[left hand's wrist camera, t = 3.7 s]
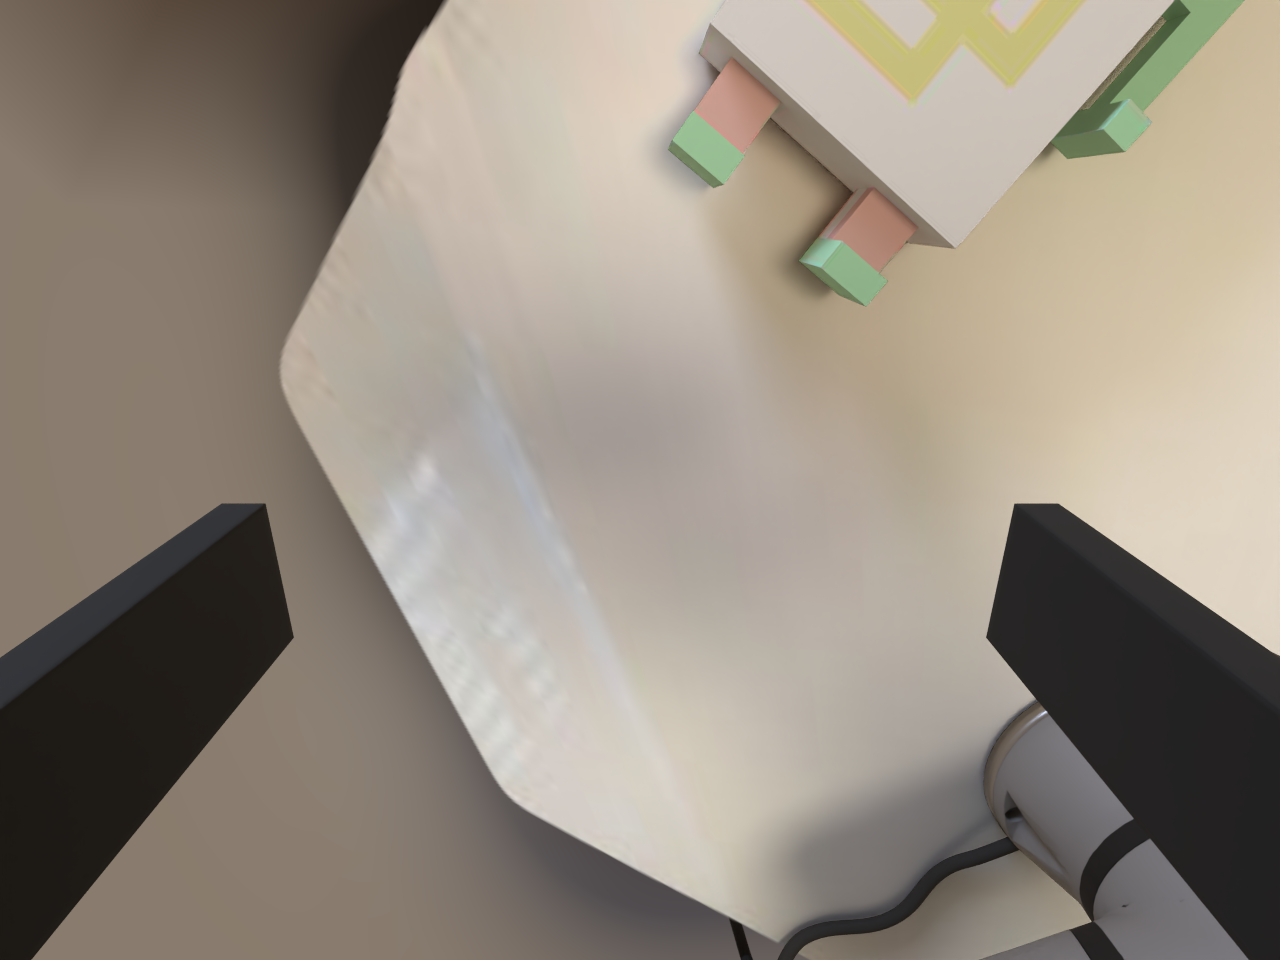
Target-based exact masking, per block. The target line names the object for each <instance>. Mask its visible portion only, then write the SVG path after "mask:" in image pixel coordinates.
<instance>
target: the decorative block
mask: <svg viewBox="0 0 1280 960" xmlns="http://www.w3.org/2000/svg"><path fill="white" fill-rule="evenodd" d="M1243 2H1244V0H726V1H725V2H724V4H723V5H722V6H721V8H720V9H719V11H718V12H717V14H716V15H715V17H714V18H713V20H712V21H711V23H710V25H709V28H708V30H707V33H706V36H705V38H704V41H703V44H702V46H701V49H700V52H699V54H700V55H701V56H703V57H704V58H705V59H706V60H707V61H708V62H709V63H710V64H711V65H713V66H714V67H715V68H716V69H717V70H718V71H719V72H720V74H719V76H718V77H717V79H716V80H715V82H714V83H713V84H712V86H711V87H710V89H709V90H708V92H707V93H706V94H705V96H704V97H703V99H702V100H701V101H700V103H699V104H698V106H697V107H696V109H695V110H693V111H692V113H691V114H690V116H689V117H688V119H687V120H686V121H685V123H684V124H683V126H682V127H681V128H680V130H679V131H678V133H677V134H676V136H675V137H674V138H673V140H672V142H671V144H670V146H669V149H668V150H669V151H670V152H672V153H673V154H674V155H675V156H676V157H678V158H679V159H680V160H681V161H682V162H683V163H685V164H686V165H687V166H688V167H689V168H690V169H692V170H693V171H694V172H695V173H696V174H697V175H699V176H700V177H701V178H702V179H703V180H704V181H706V182H707V183H708V184H709V185H710V186H712V187H713V188H714V187H717V186H720V185H723V184H724V183H725V182H726V181H727V179H728V178H729V177H730V175H731V174H732V173H733V171H734V170H735V169H736V167H737V166H738V164H739V163H740V162H741V160H742V159H743V158H744V156H745V155H744V154H743V153H744V152H745V151H746V149H747V148H748V146H749V145H750V144H751V142H752V141H753V140H754V138H755V137H756V136H757V134H758V133H759V132H760V130H761V129H762V128H763V126H764V125H765V124H766V122H767V121H768V119H769V118H771V119H772V120H773V121H775V122H776V123H777V124H778V125H779V126H780V127H781V128H782V129H783V130H785V131H786V132H787V133H788V134H789V135H790V136H791V137H792V138H793V139H795V140H796V141H797V142H798V143H799V144H800V145H801V146H802V147H803V148H805V149H806V150H807V151H808V152H809V153H810V154H811V155H812V156H813V157H814V158H816V159H817V160H818V161H819V162H820V163H821V164H822V165H823V166H824V167H826V168H827V169H828V170H829V171H830V172H831V173H832V174H833V175H834V176H836V177H837V178H838V179H839V180H840V181H841V182H842V183H843V184H844V185H846V186H847V187H848V188H849V189H850V190H851V191H852V192H853V194H852V195H851V197H850V198H849V199H848V200H847V202H846V203H845V204H844V205H843V207H842V208H841V209H840V210H839V211H838V213H837V214H836V215H835V216H834V218H833V219H832V220H831V221H830V223H829V224H828V225H827V226H826V228H825V229H824V230H823V231H822V233H821V234H820V235H819V236H818V237H817V239H816V240H815V241H814V242H813V244H812V245H811V246H810V247H809V249H808V250H807V251H806V252H805V254H804V255H803V256H802V257H801V259H800V260H799V261H800V262H801V263H802V264H803V265H804V266H805V267H807V268H808V269H809V270H810V271H811V272H812V273H814V274H815V275H816V276H817V277H818V278H819V279H821V280H822V281H823V282H824V283H825V284H826V285H828V286H829V287H830V288H831V289H832V290H834V291H835V292H836V293H837V294H838V295H840V296H842V297H844V298H847V299H849V300H852V301H854V302H856V303H859V304H861V305H864V306H867V305H868V304H869V303H870V301H871V300H872V299H873V298H874V297H875V296H876V294H877V293H878V292H879V291H880V290H881V289H882V288H883V286H884V285H885V284H886V283H887V282H888V281H887V280H886V279H885V278H884V277H883V276H882V275H881V274H879V273H880V272H881V271H882V270H883V268H884V267H885V266H886V265H887V264H888V263H889V261H890V260H891V259H892V258H893V257H894V256H895V254H896V253H897V252H898V251H899V250H900V249H901V247H902V246H903V245H904V244H905V243H906V241H908V242H909V243H910V244H919V245H928V246H937V247H945V248H954V249H956V248H957V247H958V246H959V245H960V243H961V242H962V241H963V240H964V239H965V238H966V237H967V236H968V234H969V233H970V232H971V231H972V230H973V229H974V228H975V226H976V225H977V224H978V223H979V222H980V221H981V220H982V218H983V217H984V216H985V215H986V214H987V213H988V212H989V211H990V209H991V208H992V207H993V206H994V205H995V204H996V203H997V201H998V200H999V199H1000V198H1001V197H1002V196H1003V195H1004V194H1005V192H1006V191H1007V190H1008V189H1009V188H1010V187H1011V186H1012V184H1013V183H1014V182H1015V181H1016V180H1017V179H1018V178H1019V176H1020V175H1021V174H1022V173H1023V172H1024V171H1025V170H1026V169H1027V167H1028V166H1029V165H1030V164H1031V163H1032V162H1033V161H1034V159H1035V158H1036V157H1037V156H1038V155H1039V154H1040V153H1041V151H1042V150H1043V149H1044V148H1045V147H1046V146H1047V145H1048V144H1049V142H1051V143H1052V144H1053V145H1054V146H1055V147H1056V148H1057V149H1058V150H1059V151H1060V152H1061V153H1062V154H1063V155H1064V156H1065V157H1066V158H1067V159H1072V158H1080V157H1088V156H1096V155H1104V154H1112V153H1120V152H1125V151H1126V150H1127V149H1128V148H1129V147H1130V146H1131V145H1132V144H1133V143H1134V142H1135V140H1136V139H1137V138H1138V137H1139V136H1140V135H1141V134H1142V133H1143V132H1144V131H1145V130H1146V128H1147V127H1148V126H1149V125H1150V124H1151V123H1152V121H1151V120H1150V119H1149V118H1148V117H1147V116H1146V115H1145V114H1144V113H1143V111H1144V110H1145V109H1146V108H1147V107H1148V106H1149V105H1150V104H1151V103H1152V101H1153V100H1154V99H1155V98H1156V97H1157V96H1158V95H1159V94H1160V93H1161V92H1162V90H1163V89H1164V88H1165V87H1166V86H1167V85H1168V84H1169V83H1170V82H1171V81H1172V79H1173V78H1174V77H1175V76H1176V75H1177V74H1178V73H1179V72H1180V71H1181V70H1182V68H1183V67H1184V66H1185V65H1186V64H1187V63H1188V62H1189V61H1190V60H1191V59H1192V58H1193V56H1194V55H1195V54H1196V53H1197V52H1198V51H1199V50H1200V49H1201V48H1202V47H1203V45H1204V44H1205V43H1206V42H1207V41H1208V40H1209V39H1210V38H1211V37H1212V36H1213V34H1214V33H1215V32H1216V31H1217V30H1218V29H1219V28H1220V27H1221V26H1222V25H1223V24H1224V22H1225V21H1226V20H1227V19H1228V18H1229V17H1230V16H1231V15H1232V14H1233V13H1234V11H1235V10H1236V9H1237V8H1238V7H1239V6H1240V5H1241V4H1242V3H1243ZM1161 15H1162V17H1163V18H1164V19H1165V20H1166V23H1165V24H1164V25H1163V26H1162V27H1161V28H1160V29H1159V30H1158V32H1157V33H1156V34H1155V35H1154V36H1153V37H1152V38H1151V39H1150V41H1149V42H1148V43H1147V44H1146V45H1145V46H1144V47H1143V49H1142V50H1141V51H1140V52H1139V53H1138V54H1137V55H1136V56H1135V58H1134V59H1133V60H1132V61H1131V62H1130V63H1129V64H1128V65H1127V67H1126V68H1125V69H1124V70H1123V71H1122V72H1121V73H1120V74H1119V76H1118V77H1117V78H1116V79H1115V80H1114V81H1113V82H1112V84H1111V85H1110V86H1109V87H1108V88H1107V89H1106V90H1105V91H1104V93H1103V94H1102V95H1101V96H1100V97H1099V98H1098V99H1097V100H1096V102H1095V103H1094V104H1093V105H1092V106H1091V107H1090V108H1089V109H1085V110H1081V111H1078V109H1079V108H1080V107H1081V106H1082V105H1083V104H1084V103H1085V102H1086V100H1087V99H1088V98H1089V97H1090V96H1091V95H1092V94H1093V92H1094V91H1095V90H1096V89H1097V88H1098V87H1099V86H1100V84H1101V83H1102V82H1103V81H1104V80H1105V79H1106V78H1107V77H1108V75H1109V74H1110V73H1111V72H1112V71H1113V70H1114V69H1115V67H1116V66H1117V65H1118V64H1119V63H1120V62H1121V61H1122V59H1123V58H1124V57H1125V56H1126V55H1127V54H1128V53H1129V52H1130V50H1131V49H1132V48H1133V47H1134V46H1135V45H1136V44H1137V42H1138V41H1139V40H1140V39H1141V38H1142V37H1143V36H1144V35H1145V33H1146V32H1147V31H1148V30H1149V29H1150V28H1151V27H1152V25H1153V24H1154V23H1155V22H1156V21H1157V20H1158V19H1159V17H1160V16H1161Z"/></svg>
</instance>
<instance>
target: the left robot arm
mask: <svg viewBox="0 0 1280 960" xmlns="http://www.w3.org/2000/svg"><path fill="white" fill-rule="evenodd" d="M293 638H294V636H293V632H292V627H291V622H290V617H289V613H288V608H287V603H286V598H285V594H284V589H283V584H282V580H281V575H280V570H279V565H278V561H277V556H276V551H275V546H274V542H273V537H272V532H271V528H270V523H269V518H268V513H267V509H266V504H221V505H219V506H218V507H216V508H215V509H213V510H212V511H210V512H209V513H208V514H206V515H205V516H203V517H202V518H200V519H199V520H198V521H196V522H195V523H193V524H192V525H190V526H189V527H188V528H186V529H185V530H183V531H182V532H180V533H179V534H177V535H176V536H175V537H173V538H172V539H170V540H169V541H167V542H166V543H164V544H163V545H162V546H160V547H159V548H157V549H156V550H154V551H153V552H152V553H150V554H149V555H147V556H146V557H144V558H143V559H141V560H140V561H139V562H137V563H136V564H134V565H133V566H131V567H130V568H129V569H127V570H126V571H124V572H123V573H121V574H120V575H119V576H117V577H116V578H114V579H113V580H111V581H110V582H108V583H107V584H106V585H104V586H103V587H101V588H100V589H98V590H97V591H96V592H94V593H93V594H91V595H90V596H88V597H87V598H85V599H84V600H83V601H81V602H80V603H78V604H77V605H75V606H74V607H73V608H71V609H70V610H68V611H67V612H65V613H64V614H63V615H61V616H60V617H58V618H57V619H55V620H54V621H52V622H51V623H50V624H48V625H47V626H45V627H44V628H42V629H41V630H40V631H38V632H37V633H35V634H34V635H32V636H31V637H29V638H28V639H27V640H25V641H24V642H22V643H21V644H19V645H18V646H16V647H15V648H14V649H12V650H11V651H9V652H8V653H6V654H5V655H4V656H2V657H1V658H0V960H31V959H32V958H33V957H34V956H35V955H36V953H37V952H38V951H39V950H40V948H41V947H42V946H43V945H44V944H45V942H46V941H47V940H48V939H49V937H50V936H51V935H52V934H53V932H54V931H55V930H56V929H57V928H58V926H59V925H60V924H61V923H62V921H63V920H64V919H65V918H66V917H67V915H68V914H69V913H70V912H71V910H72V909H73V908H74V907H75V905H76V904H77V903H78V902H79V901H80V899H81V898H82V897H83V896H84V894H85V893H86V892H87V891H88V890H89V888H90V887H91V886H92V885H93V883H94V882H95V881H96V880H97V878H98V877H99V876H100V875H101V874H102V872H103V871H104V870H105V869H106V867H107V866H108V865H109V864H110V862H111V861H112V860H113V859H114V858H115V856H116V855H117V854H118V853H119V851H120V850H121V849H122V848H123V847H124V845H125V844H126V843H127V842H128V840H129V839H130V838H131V837H132V835H133V834H134V833H135V832H136V831H137V829H138V828H139V827H140V826H141V824H142V823H143V822H144V821H145V819H146V818H147V817H148V816H149V815H150V813H151V812H152V811H153V810H154V808H155V807H156V806H157V805H158V804H159V802H160V801H161V800H162V799H163V797H164V796H165V795H166V794H167V793H168V791H169V790H170V789H171V788H172V786H173V785H174V784H175V783H176V782H177V780H178V779H179V778H180V777H181V775H182V774H183V773H184V772H185V770H186V769H187V768H188V767H189V765H190V764H191V763H192V762H193V761H194V759H195V758H196V757H197V756H198V754H199V753H200V752H201V751H202V750H203V748H204V747H205V746H206V745H207V743H208V742H209V741H210V740H211V739H212V737H213V736H214V735H215V734H216V732H217V731H218V730H219V729H220V727H221V726H222V725H223V724H224V723H225V721H226V720H227V719H228V718H229V716H230V715H231V714H232V713H233V712H234V710H235V709H236V708H237V707H238V705H239V704H240V703H241V702H242V700H243V699H244V698H245V697H246V696H247V694H248V693H249V692H250V691H251V689H252V688H253V687H254V686H255V684H256V683H257V682H258V681H259V680H260V678H261V677H262V676H263V675H264V673H265V672H266V671H267V670H268V669H269V667H270V666H271V665H272V664H273V662H274V661H275V660H276V659H277V658H278V656H279V655H280V654H281V653H282V651H283V650H284V649H285V648H286V646H287V645H288V644H289V643H290V642H291V640H292V639H293ZM986 638H987V639H988V640H989V642H990V643H991V644H992V645H993V646H994V648H995V649H996V650H997V651H998V653H999V654H1000V655H1001V656H1002V658H1003V659H1004V660H1005V661H1006V662H1007V664H1008V665H1009V666H1010V667H1011V669H1012V670H1013V671H1014V672H1015V673H1016V675H1017V676H1018V677H1019V678H1020V680H1021V681H1022V682H1023V683H1024V685H1025V686H1026V687H1027V688H1028V689H1029V691H1030V692H1031V693H1032V694H1033V696H1034V697H1035V698H1036V699H1037V700H1038V702H1037V703H1036V704H1034V705H1033V706H1031V707H1030V708H1028V709H1027V710H1026V711H1024V712H1023V713H1022V714H1021V715H1019V716H1018V717H1017V718H1016V719H1015V720H1014V721H1013V722H1012V723H1011V724H1010V725H1009V726H1008V727H1007V728H1006V729H1005V731H1004V732H1003V733H1002V734H1001V736H1000V737H999V739H998V740H997V742H996V743H995V745H994V747H993V748H992V751H991V753H990V755H989V757H988V760H987V763H986V767H985V772H984V792H985V797H986V800H987V803H988V806H989V808H990V810H991V812H992V813H993V815H994V817H995V818H996V820H997V822H998V824H999V825H1000V827H1001V828H1002V830H1003V831H1004V833H1005V834H1006V835H1007V836H1008V837H1006V838H1004V839H1001V840H999V841H996V842H994V843H991V844H988V845H986V846H983V847H980V848H978V849H975V850H972V851H968V852H965V853H961V854H958V855H955V856H952V857H949V858H947V859H945V860H944V861H942V862H940V863H939V864H937V865H936V866H934V867H933V868H932V869H931V870H929V871H928V872H927V873H926V874H925V875H924V876H923V878H922V879H921V880H920V881H919V882H918V884H917V885H916V886H915V888H914V889H913V890H912V892H911V893H910V894H909V895H908V896H907V898H906V899H905V900H904V901H903V902H902V903H900V904H899V905H898V906H897V907H895V908H894V909H892V910H890V911H888V912H886V913H884V914H881V915H878V916H875V917H870V918H864V919H855V920H840V921H830V922H824V923H819V924H816V925H813V926H810V927H807V928H805V929H803V930H801V931H800V932H798V933H797V934H795V935H794V936H793V937H792V938H791V939H790V940H789V941H788V943H787V944H786V945H785V947H784V949H783V950H782V952H781V954H780V956H779V958H778V960H793V959H794V958H795V956H796V955H797V953H798V952H799V951H800V950H801V949H802V948H803V947H804V946H805V945H807V944H808V943H810V942H812V941H814V940H817V939H820V938H824V937H828V936H835V935H848V934H862V933H870V932H876V931H880V930H883V929H887V928H889V927H892V926H894V925H896V924H898V923H900V922H901V921H903V920H905V919H906V918H907V917H909V916H910V915H911V914H912V913H913V912H914V911H915V910H916V909H917V908H918V907H919V906H920V905H921V904H922V903H923V901H924V900H925V899H926V898H927V896H928V895H929V894H930V892H931V891H932V890H933V889H934V888H935V887H936V885H937V884H938V883H939V882H941V881H942V880H943V879H944V878H946V877H947V876H949V875H950V874H952V873H954V872H956V871H959V870H962V869H965V868H969V867H973V866H976V865H980V864H983V863H986V862H989V861H991V860H994V859H997V858H999V857H1002V856H1005V855H1007V854H1010V853H1013V852H1015V851H1018V850H1021V851H1022V852H1023V853H1024V854H1025V855H1026V856H1027V857H1028V858H1030V859H1031V860H1032V861H1033V862H1034V863H1035V864H1036V865H1037V866H1039V867H1040V868H1041V869H1042V870H1043V871H1044V872H1045V873H1046V874H1048V875H1049V876H1050V877H1051V878H1052V879H1053V880H1054V881H1055V882H1057V883H1058V884H1059V885H1060V886H1061V887H1062V888H1063V889H1064V890H1066V891H1067V892H1068V893H1069V894H1070V895H1071V896H1072V897H1073V898H1075V899H1076V900H1077V901H1078V902H1079V903H1080V904H1081V905H1082V907H1083V908H1084V910H1085V912H1086V913H1087V915H1088V916H1089V918H1090V919H1091V921H1092V922H1091V923H1088V924H1085V925H1082V926H1079V927H1076V928H1073V929H1069V930H1066V931H1063V932H1060V933H1057V934H1054V935H1051V936H1049V937H1046V938H1043V939H1040V940H1037V941H1034V942H1031V943H1028V944H1025V945H1023V946H1020V947H1017V948H1014V949H1011V950H1008V951H1005V952H1001V953H998V954H995V955H992V956H989V957H986V958H983V959H980V960H1280V656H1279V655H1277V654H1275V653H1272V652H1271V651H1269V650H1268V649H1266V648H1265V647H1264V646H1262V645H1261V644H1259V643H1258V642H1256V641H1255V640H1253V639H1252V638H1251V637H1249V636H1248V635H1246V634H1245V633H1243V632H1242V631H1241V630H1239V629H1238V628H1236V627H1235V626H1233V625H1232V624H1230V623H1229V622H1228V621H1226V620H1225V619H1223V618H1222V617H1220V616H1219V615H1218V614H1216V613H1215V612H1213V611H1212V610H1210V609H1209V608H1207V607H1206V606H1205V605H1203V604H1202V603H1200V602H1199V601H1197V600H1196V599H1195V598H1193V597H1192V596H1190V595H1189V594H1187V593H1186V592H1184V591H1183V590H1182V589H1180V588H1179V587H1177V586H1176V585H1174V584H1173V583H1172V582H1170V581H1169V580H1167V579H1166V578H1164V577H1163V576H1162V575H1160V574H1159V573H1157V572H1156V571H1154V570H1153V569H1151V568H1150V567H1149V566H1147V565H1146V564H1144V563H1143V562H1141V561H1140V560H1139V559H1137V558H1136V557H1134V556H1133V555H1131V554H1130V553H1128V552H1127V551H1126V550H1124V549H1123V548H1121V547H1120V546H1118V545H1117V544H1116V543H1114V542H1113V541H1111V540H1110V539H1108V538H1107V537H1105V536H1104V535H1103V534H1101V533H1100V532H1098V531H1097V530H1095V529H1094V528H1093V527H1091V526H1090V525H1088V524H1087V523H1085V522H1084V521H1082V520H1081V519H1080V518H1078V517H1077V516H1075V515H1074V514H1072V513H1071V512H1070V511H1068V510H1067V509H1065V508H1064V507H1062V506H1061V505H1060V504H1014V509H1013V513H1012V518H1011V523H1010V528H1009V532H1008V537H1007V542H1006V546H1005V551H1004V556H1003V561H1002V565H1001V570H1000V575H999V580H998V584H997V589H996V594H995V598H994V603H993V608H992V613H991V617H990V622H989V627H988V632H987V636H986ZM728 917H729V916H728ZM729 921H730V924H731V927H732V931H733V934H734V938H735V941H736V945H737V949H738V952H739V955H740V958H741V960H753V958H752V955H751V952H750V949H749V946H748V943H747V939H746V936H745V932H744V929H743V926H742V923H740V922H738V921H736V920H734V919H732V918H731V917H729Z"/></svg>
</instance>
